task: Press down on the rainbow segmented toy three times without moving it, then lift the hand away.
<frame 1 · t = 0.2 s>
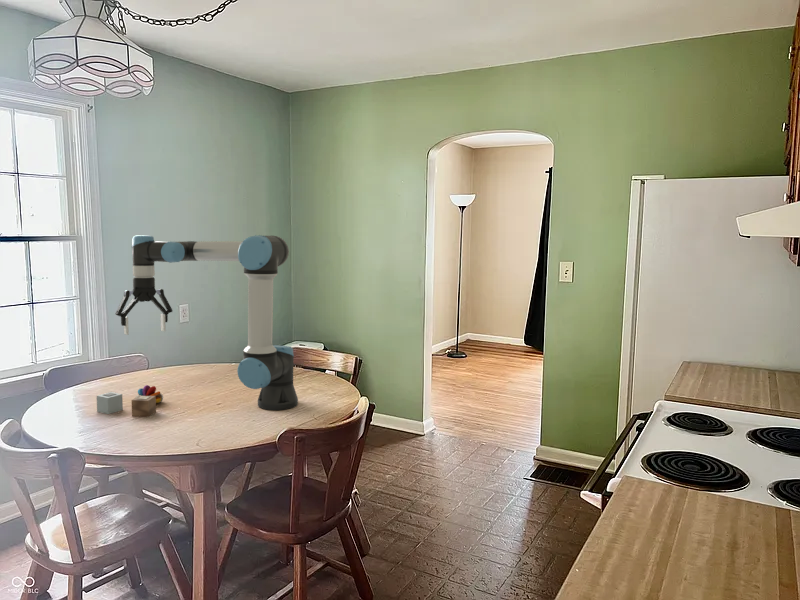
hand: (145, 332, 225), 27 cm above the table, fingers open, 13 cm apart
rainbow segmented toy: (148, 404, 225), on the table
walnut block: (144, 414, 213), on the table
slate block: (110, 411, 215), on the table
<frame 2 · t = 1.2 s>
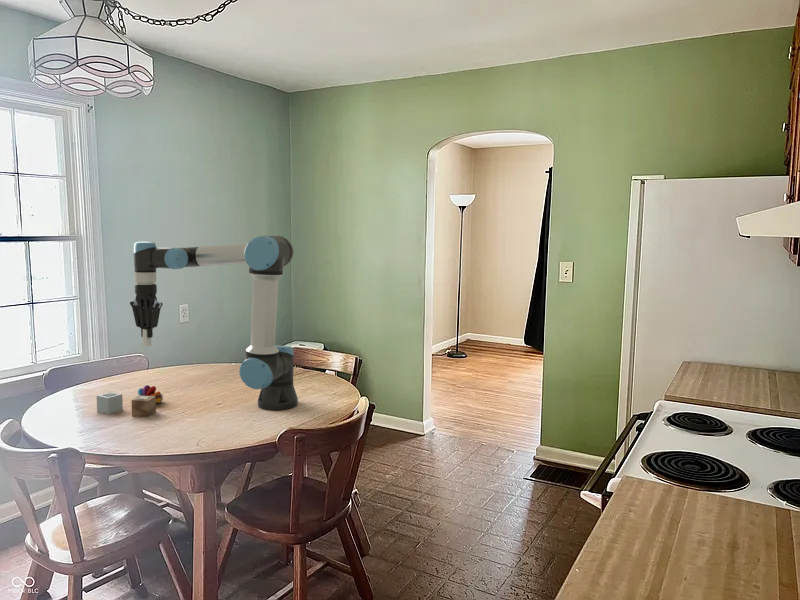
hand: (147, 345, 222), 22 cm above the table, fingers closed
nothing on the table moved.
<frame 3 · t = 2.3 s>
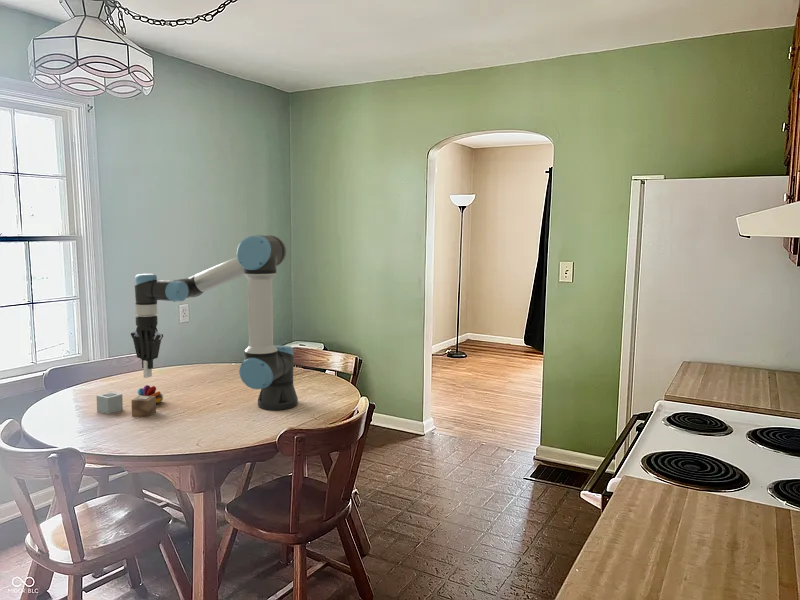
hand: (147, 376, 224), 10 cm above the table, fingers closed
nothing on the table moved.
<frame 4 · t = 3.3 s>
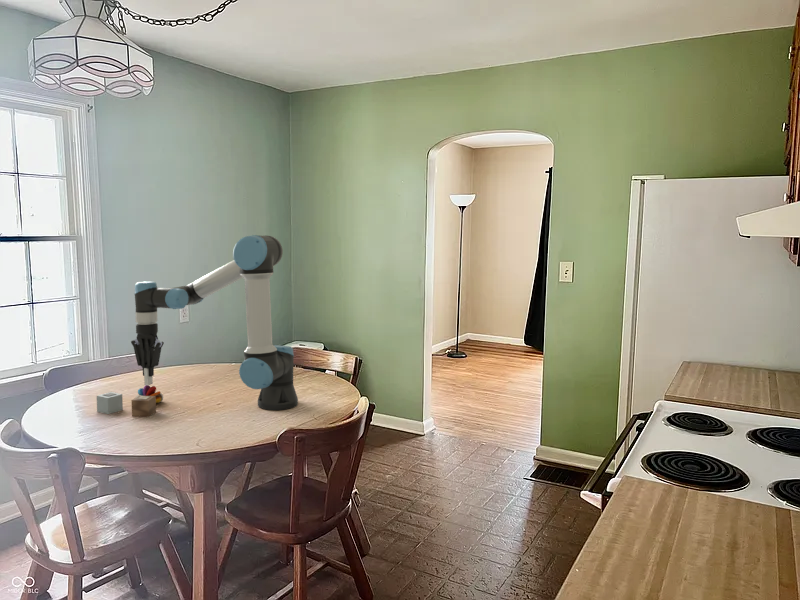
hand: (148, 384, 224), 8 cm above the table, fingers closed
nothing on the table moved.
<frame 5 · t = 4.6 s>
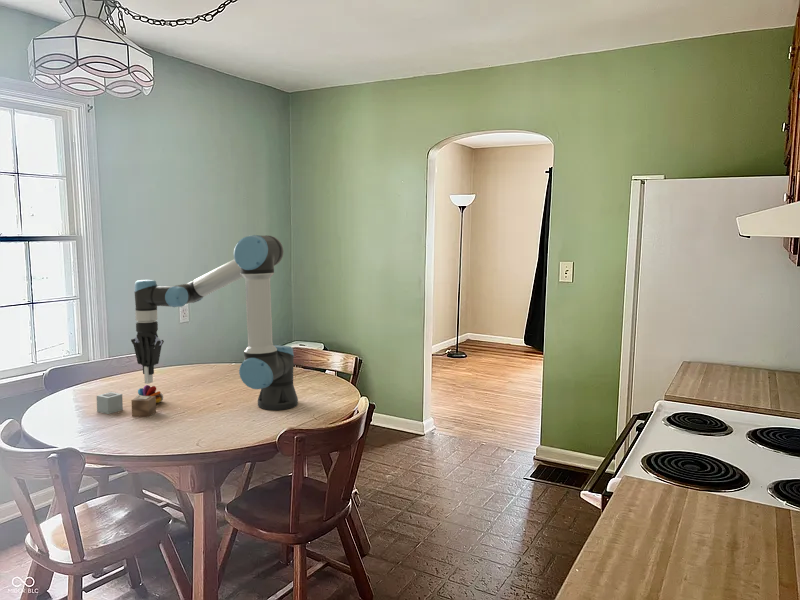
hand: (148, 382, 224), 8 cm above the table, fingers closed
nothing on the table moved.
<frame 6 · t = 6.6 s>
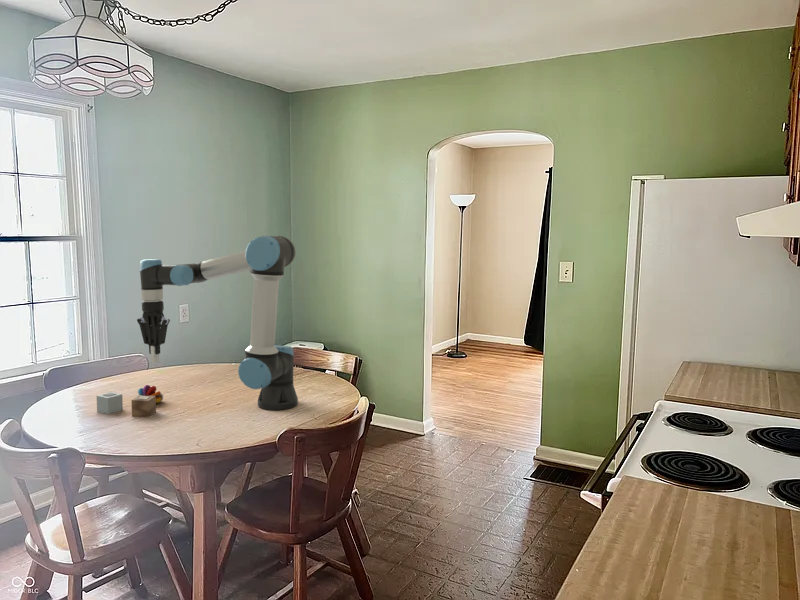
hand: (155, 362, 224), 16 cm above the table, fingers closed
nothing on the table moved.
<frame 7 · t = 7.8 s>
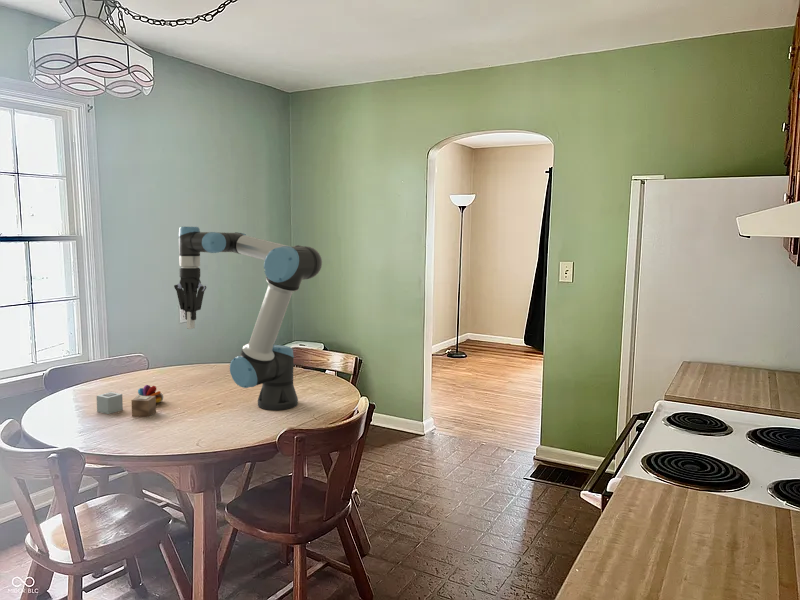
hand: (190, 328, 228), 28 cm above the table, fingers closed
nothing on the table moved.
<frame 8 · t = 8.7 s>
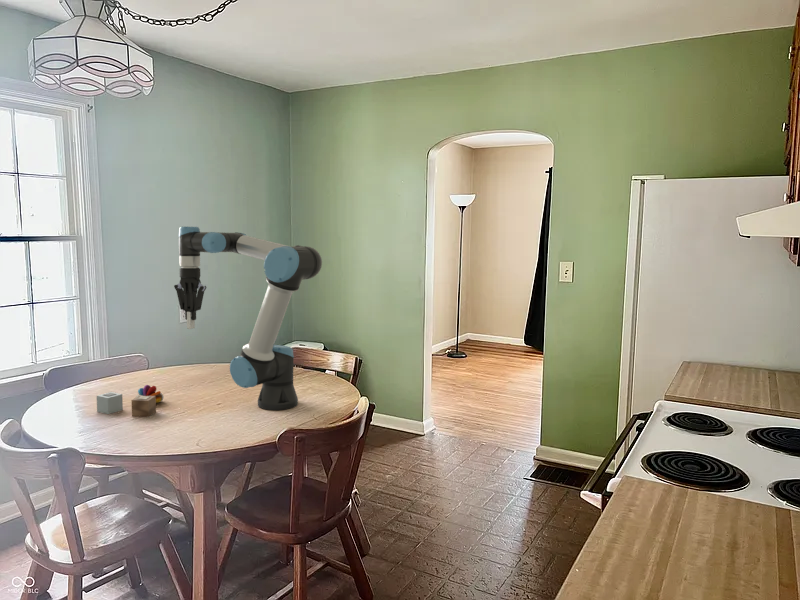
hand: (190, 328, 228), 28 cm above the table, fingers closed
nothing on the table moved.
at the end: rainbow segmented toy moved 0.6 cm from its start; rainbow segmented toy tilted 0°; walnut block moved 0.1 cm from its start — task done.
